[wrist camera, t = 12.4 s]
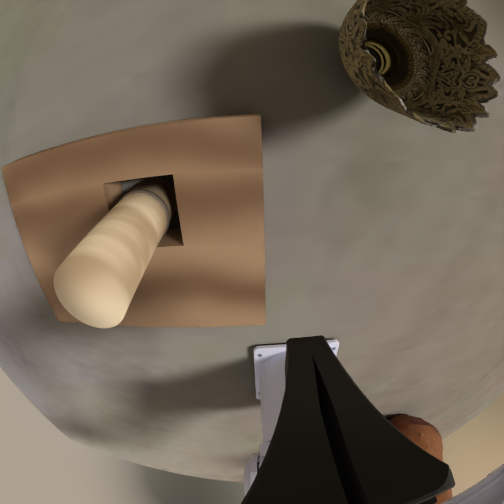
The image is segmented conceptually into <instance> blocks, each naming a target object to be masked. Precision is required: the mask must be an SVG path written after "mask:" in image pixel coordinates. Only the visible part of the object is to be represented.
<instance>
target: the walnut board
mask: <svg viewBox="0 0 504 504" xmlns="http://www.w3.org/2000/svg"><path fill="white" fill-rule="evenodd" d="M2 171H3V176H4V180H5V184H6V189H7V193H8V196H9V200H10V204H11V207H12V211H13V214H14V217H15V220H16V224H17V227H18V230H19V233H20V235H21V238H22V241H23V244H24V246H25V249H26V252H27V254H28V257H29V259H30V262H31V264H32V267H33V269H34V271H35V274H36V276H37V278H38V281H39V283H40V285H41V287H42V289H43V291H44V293H45V295H46V298H47V300H48V302H49V304H50V306H51V307H52V309H53V311H54V313H55V315H56V317H57V319H58V321H59V322H69V323H81V324H85V323H83V322H81V321H79V320H78V319H76V318H75V317H74V316H72V315H71V314H70V313H69V312H68V311H67V310H66V309H65V308H64V306H63V305H62V304H61V302H60V301H59V299H58V297H57V295H56V292H55V289H54V274H55V272H56V270H57V268H58V267H59V266H60V265H61V264H62V262H63V261H64V260H65V259H66V258H67V257H68V255H69V254H70V253H71V252H72V251H73V250H74V249H75V247H76V246H77V245H78V244H79V243H80V242H81V241H82V240H83V239H84V237H85V236H86V235H87V234H88V233H89V232H90V231H91V230H92V229H93V228H94V227H95V226H96V225H97V224H98V223H99V222H100V221H101V220H102V218H103V217H104V216H105V215H106V214H107V213H108V212H109V211H110V210H111V209H112V208H113V207H114V206H115V205H117V203H118V201H119V200H120V199H121V198H122V197H123V192H122V187H121V181H123V180H130V179H138V178H145V177H153V176H162V175H171V174H173V178H174V186H175V193H176V200H177V207H178V213H179V220H180V226H181V228H177V229H167V231H166V233H165V235H164V236H163V237H162V238H161V240H160V242H159V244H158V246H157V248H156V250H155V252H154V254H153V256H152V258H151V260H150V262H149V264H148V266H147V268H146V270H145V272H144V274H143V276H142V278H141V280H140V283H139V285H138V287H137V289H136V291H135V293H134V296H133V298H132V300H131V302H130V305H129V307H128V309H127V311H126V314H125V316H124V318H123V320H122V321H121V322H120V323H119V324H118V325H116V326H142V327H218V326H246V325H266V309H265V246H264V201H263V164H262V132H261V116H260V115H259V114H244V115H227V116H214V117H203V118H193V119H184V120H176V121H169V122H162V123H156V124H150V125H144V126H138V127H133V128H128V129H123V130H118V131H113V132H108V133H104V134H100V135H96V136H92V137H88V138H84V139H80V140H76V141H73V142H69V143H66V144H62V145H59V146H56V147H52V148H49V149H46V150H43V151H40V152H37V153H34V154H31V155H28V156H26V157H23V158H20V159H18V160H16V161H14V162H12V163H10V164H7V165H5V166H3V167H2Z"/></svg>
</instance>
